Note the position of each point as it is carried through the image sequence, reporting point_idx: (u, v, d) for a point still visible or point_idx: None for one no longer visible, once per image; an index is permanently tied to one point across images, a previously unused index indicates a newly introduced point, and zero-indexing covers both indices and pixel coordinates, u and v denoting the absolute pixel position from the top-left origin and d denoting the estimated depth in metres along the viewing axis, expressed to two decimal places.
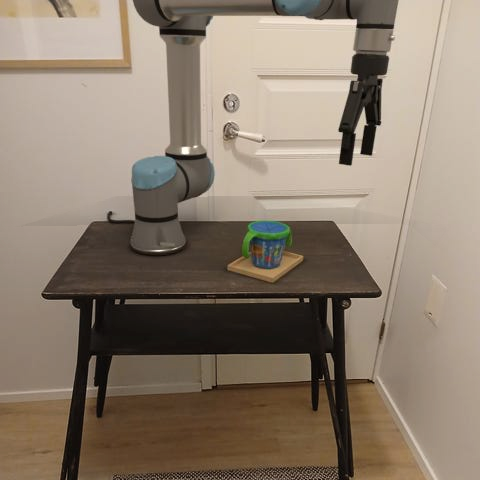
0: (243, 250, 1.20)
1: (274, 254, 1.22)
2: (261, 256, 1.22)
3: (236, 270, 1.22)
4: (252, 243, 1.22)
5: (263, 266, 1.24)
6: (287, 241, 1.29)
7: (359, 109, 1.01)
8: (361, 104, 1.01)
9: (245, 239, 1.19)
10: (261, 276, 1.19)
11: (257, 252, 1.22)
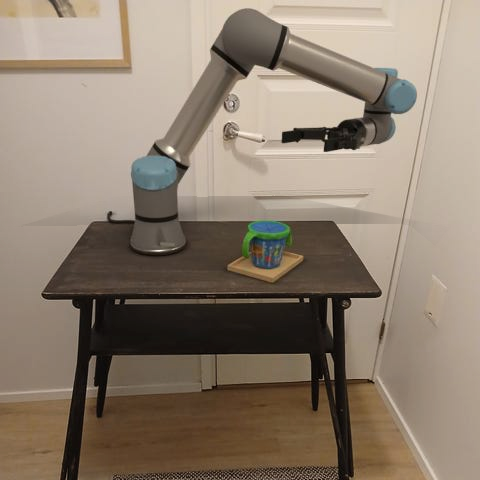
0: (243, 250, 1.20)
1: (274, 254, 1.22)
2: (261, 255, 1.22)
3: (236, 270, 1.22)
4: (252, 243, 1.22)
5: (263, 266, 1.24)
6: (287, 241, 1.29)
7: None
8: None
9: (245, 239, 1.19)
10: (261, 276, 1.19)
11: (257, 252, 1.22)
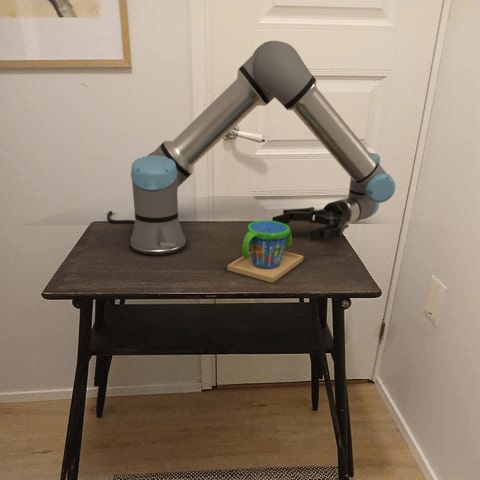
0: (243, 250, 1.20)
1: (274, 254, 1.22)
2: (261, 255, 1.22)
3: (236, 270, 1.22)
4: (252, 243, 1.22)
5: (263, 266, 1.24)
6: (287, 241, 1.29)
7: None
8: None
9: (245, 239, 1.19)
10: (261, 276, 1.19)
11: (257, 252, 1.22)
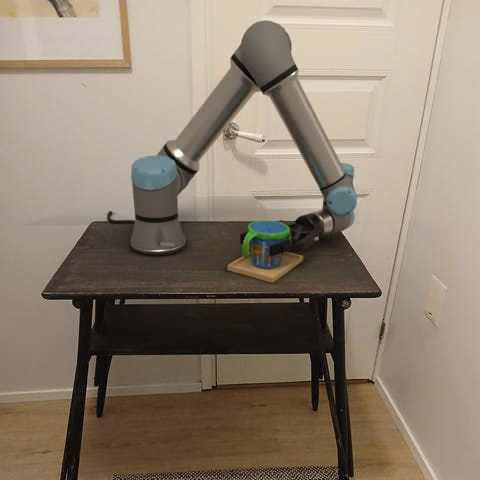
0: (243, 250, 1.20)
1: None
2: (261, 256, 1.22)
3: (236, 270, 1.22)
4: (252, 243, 1.22)
5: (263, 266, 1.24)
6: None
7: None
8: None
9: (245, 239, 1.19)
10: (261, 276, 1.19)
11: (257, 252, 1.22)
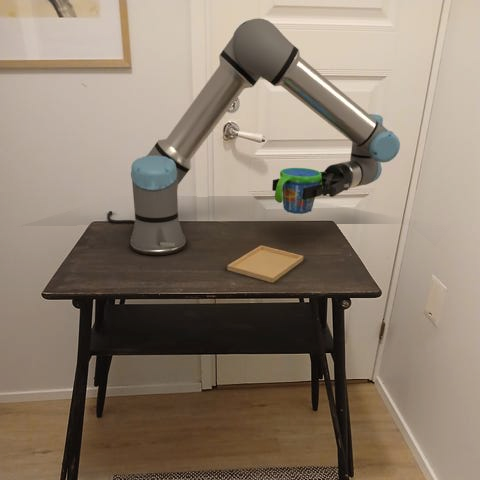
0: (276, 194, 1.23)
1: (307, 199, 1.24)
2: (294, 200, 1.24)
3: (236, 270, 1.22)
4: (285, 188, 1.25)
5: (295, 211, 1.26)
6: None
7: None
8: None
9: (279, 183, 1.22)
10: (261, 276, 1.19)
11: (290, 197, 1.25)
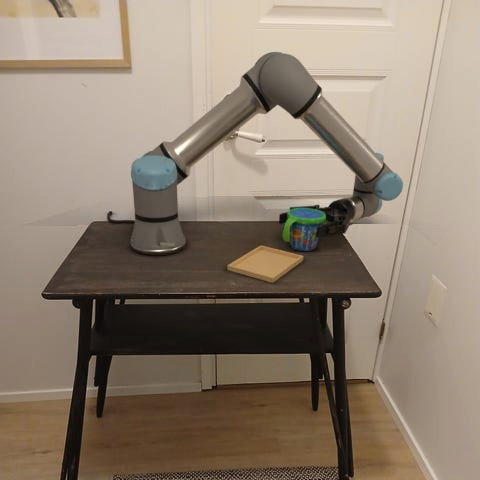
0: (284, 234, 1.32)
1: (312, 238, 1.33)
2: (300, 239, 1.33)
3: (236, 270, 1.22)
4: (291, 228, 1.34)
5: (301, 249, 1.35)
6: None
7: None
8: None
9: (286, 224, 1.31)
10: (261, 276, 1.19)
11: (296, 236, 1.34)
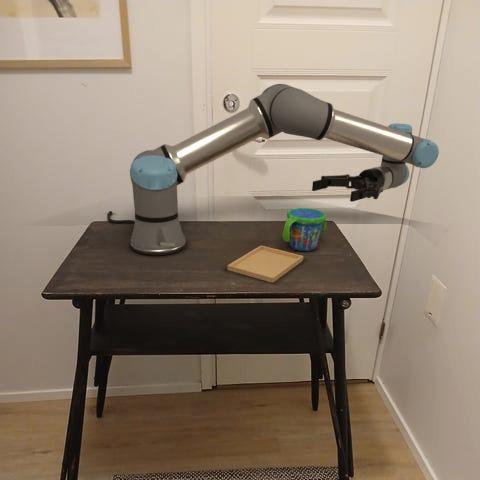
0: (284, 234, 1.32)
1: (312, 238, 1.33)
2: (300, 239, 1.33)
3: (236, 270, 1.22)
4: (291, 228, 1.34)
5: (301, 249, 1.35)
6: (321, 227, 1.41)
7: None
8: None
9: (286, 224, 1.31)
10: (261, 276, 1.19)
11: (296, 236, 1.34)
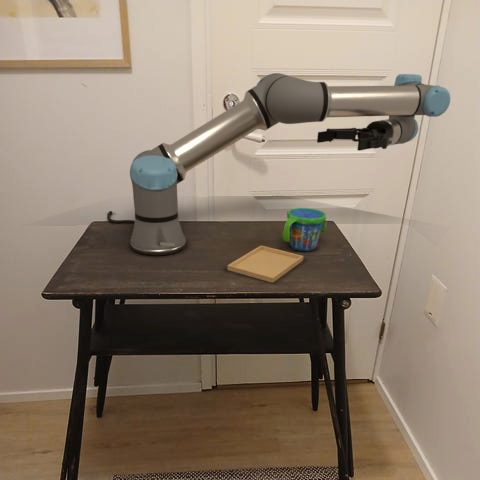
0: (284, 234, 1.32)
1: (312, 238, 1.33)
2: (300, 239, 1.33)
3: (236, 270, 1.22)
4: (291, 228, 1.34)
5: (301, 249, 1.35)
6: (322, 227, 1.41)
7: None
8: None
9: (286, 224, 1.31)
10: (261, 276, 1.19)
11: (296, 236, 1.34)
